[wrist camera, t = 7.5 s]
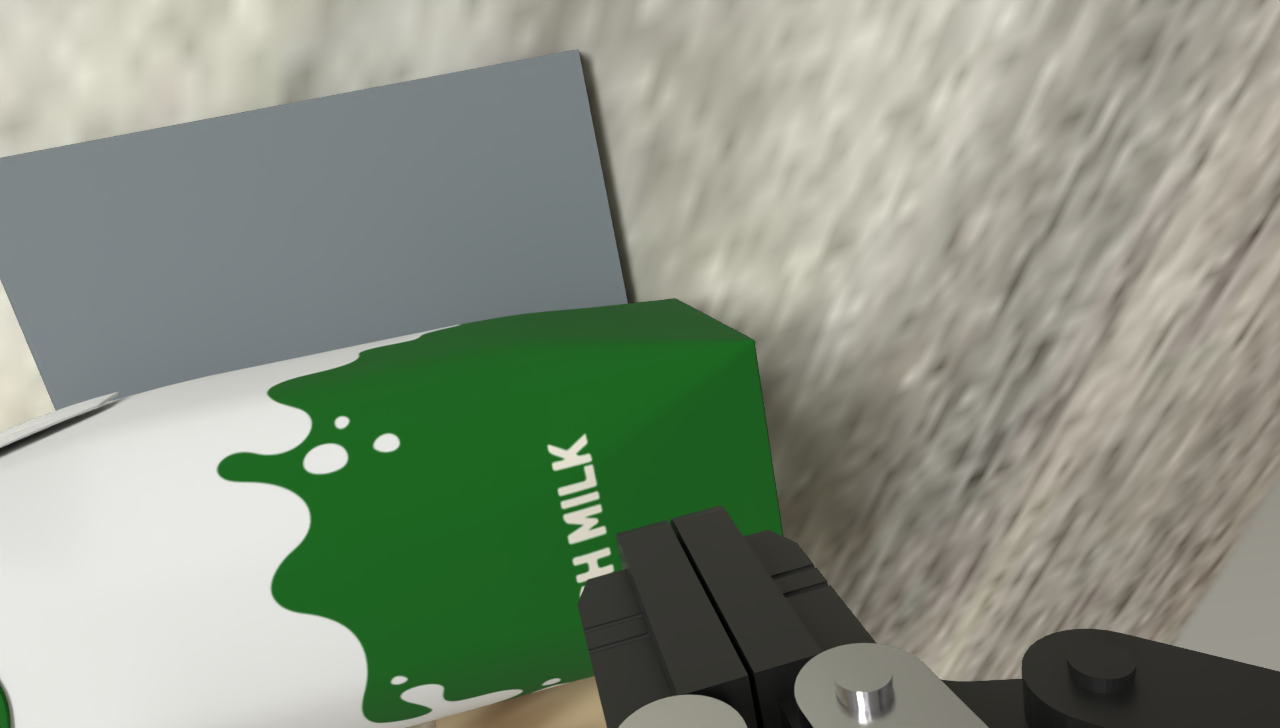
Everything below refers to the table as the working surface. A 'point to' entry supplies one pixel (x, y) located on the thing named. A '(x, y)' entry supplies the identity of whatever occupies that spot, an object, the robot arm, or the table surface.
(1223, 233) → the table surface
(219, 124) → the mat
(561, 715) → the oak block
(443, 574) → the soya milk
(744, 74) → the table surface
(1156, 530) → the table surface
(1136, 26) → the table surface
